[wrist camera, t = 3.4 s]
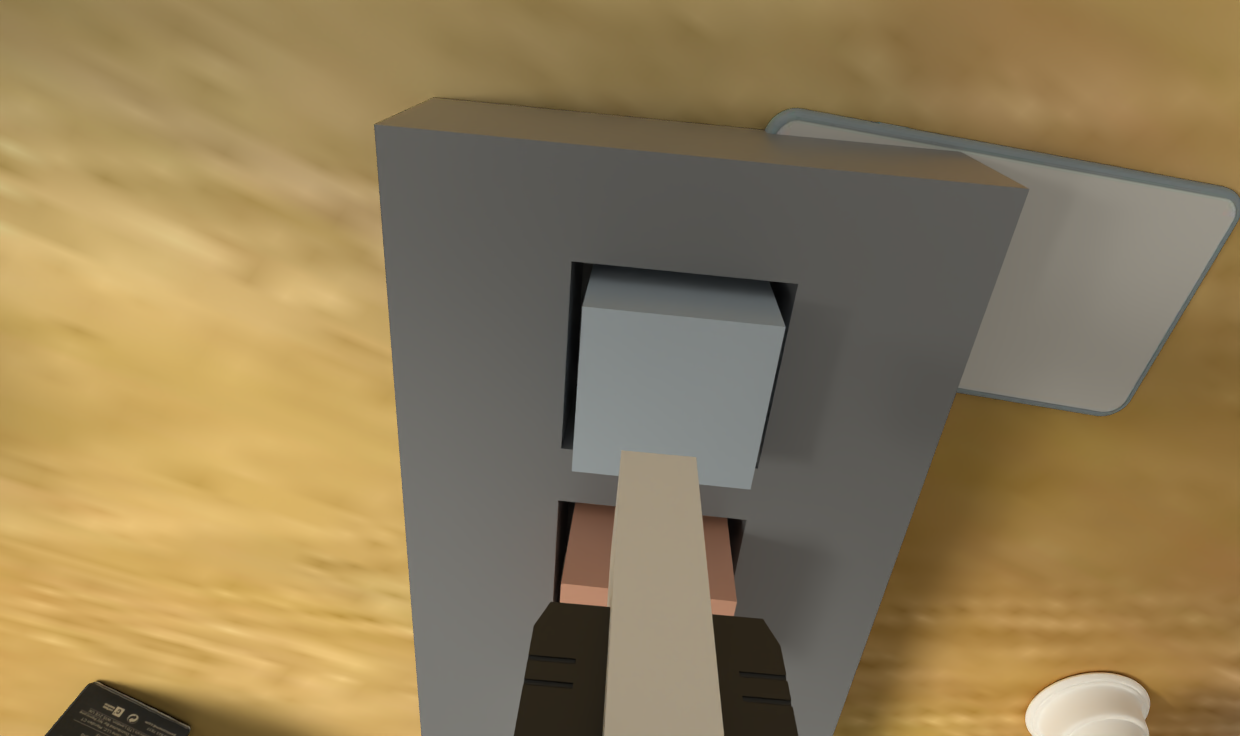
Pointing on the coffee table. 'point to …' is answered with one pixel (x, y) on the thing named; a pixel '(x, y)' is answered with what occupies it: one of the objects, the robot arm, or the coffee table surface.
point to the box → (114, 716)
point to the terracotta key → (593, 550)
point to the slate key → (675, 370)
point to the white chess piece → (1090, 707)
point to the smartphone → (1072, 267)
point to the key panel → (549, 358)
